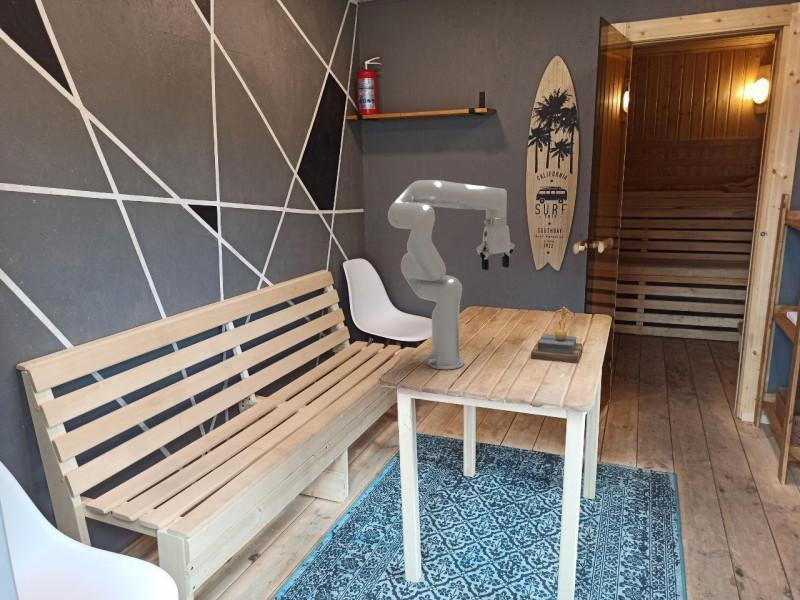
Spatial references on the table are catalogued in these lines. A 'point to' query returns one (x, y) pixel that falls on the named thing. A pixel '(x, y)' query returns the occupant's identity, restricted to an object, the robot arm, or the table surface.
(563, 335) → the figurine
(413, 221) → the robot arm
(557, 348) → the display stand
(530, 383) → the table surface
